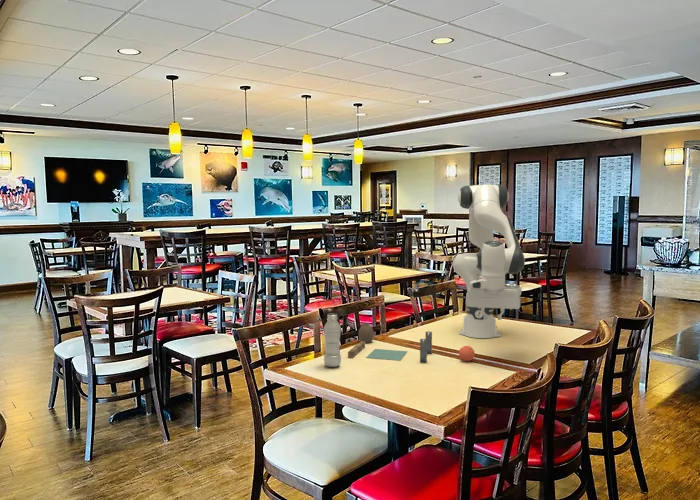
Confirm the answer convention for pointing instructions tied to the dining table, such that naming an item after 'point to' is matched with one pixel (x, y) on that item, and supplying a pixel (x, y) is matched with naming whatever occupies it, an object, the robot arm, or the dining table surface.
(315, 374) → the dining table surface
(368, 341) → the vase
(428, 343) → the post
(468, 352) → the ball
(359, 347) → the wall
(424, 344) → the post
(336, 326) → the plastic bottle
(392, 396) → the dining table surface
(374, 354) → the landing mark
